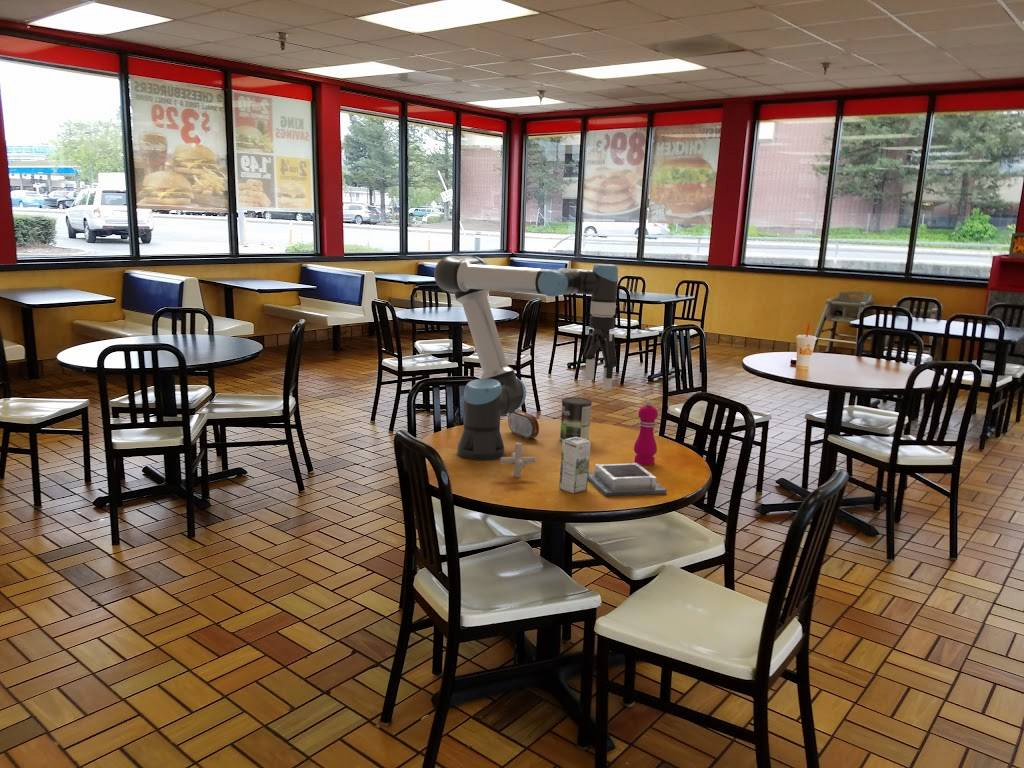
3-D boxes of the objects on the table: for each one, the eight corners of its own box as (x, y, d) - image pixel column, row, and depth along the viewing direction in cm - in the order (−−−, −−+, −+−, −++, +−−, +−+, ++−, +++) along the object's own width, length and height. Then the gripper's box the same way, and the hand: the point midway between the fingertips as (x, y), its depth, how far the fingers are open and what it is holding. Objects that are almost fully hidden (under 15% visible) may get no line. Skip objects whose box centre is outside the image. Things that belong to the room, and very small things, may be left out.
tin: (539, 440, 260) (540, 416, 259) (532, 441, 258) (533, 417, 257) (513, 430, 272) (514, 407, 270) (506, 431, 270) (507, 408, 268)
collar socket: (605, 496, 206) (606, 482, 205) (584, 476, 223) (585, 462, 222) (666, 493, 210) (667, 479, 210) (640, 473, 227) (641, 460, 227)
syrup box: (572, 484, 215) (575, 435, 212) (588, 490, 211) (591, 440, 208) (558, 488, 211) (561, 438, 208) (574, 494, 207) (577, 443, 204)
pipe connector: (503, 482, 214) (504, 448, 212) (497, 471, 224) (498, 439, 222) (537, 481, 216) (539, 448, 214) (530, 470, 226) (531, 438, 224)
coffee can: (566, 444, 256) (568, 404, 254) (555, 436, 266) (557, 397, 263) (594, 443, 259) (596, 403, 257) (582, 435, 269) (584, 396, 266)
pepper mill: (644, 467, 234) (649, 404, 231) (628, 460, 240) (632, 399, 236) (660, 463, 239) (665, 402, 235) (644, 457, 244) (648, 397, 240)
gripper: (632, 320, 218) (626, 392, 222) (597, 311, 242) (593, 376, 246) (608, 320, 216) (603, 392, 220) (575, 310, 239) (571, 376, 244)
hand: (597, 384), depth 233 cm, fingers open, 13 cm apart
